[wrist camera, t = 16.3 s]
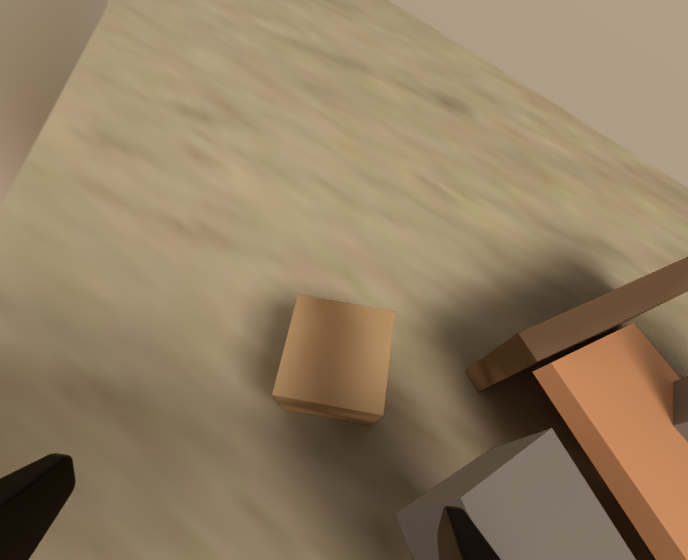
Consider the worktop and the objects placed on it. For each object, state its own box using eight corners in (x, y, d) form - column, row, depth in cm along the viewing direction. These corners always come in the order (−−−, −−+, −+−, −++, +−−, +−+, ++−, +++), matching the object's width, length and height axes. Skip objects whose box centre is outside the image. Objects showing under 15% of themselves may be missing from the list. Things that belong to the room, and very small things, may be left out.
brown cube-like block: (383, 339, 25) (395, 311, 20) (372, 426, 22) (383, 415, 18) (303, 325, 25) (297, 294, 21) (283, 409, 22) (271, 394, 18)
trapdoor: (754, 554, 21) (824, 550, 19) (686, 1214, 7) (942, 1474, 5) (592, 342, 27) (633, 322, 25) (368, 450, 12) (424, 424, 11)
